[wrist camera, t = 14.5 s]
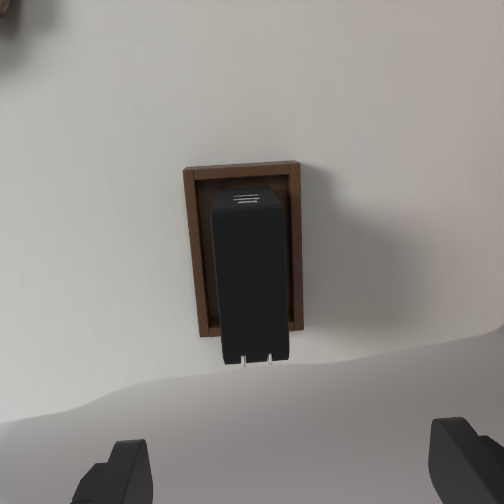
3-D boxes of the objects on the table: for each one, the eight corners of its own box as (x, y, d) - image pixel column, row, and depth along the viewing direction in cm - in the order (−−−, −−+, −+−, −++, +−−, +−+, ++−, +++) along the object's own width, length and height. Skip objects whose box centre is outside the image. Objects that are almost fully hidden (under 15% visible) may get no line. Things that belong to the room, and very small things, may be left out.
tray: (295, 160, 32) (300, 162, 30) (299, 317, 36) (303, 330, 34) (186, 167, 32) (182, 170, 30) (202, 324, 36) (199, 337, 33)
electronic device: (269, 184, 32) (284, 206, 22) (274, 301, 35) (290, 365, 25) (216, 187, 32) (208, 211, 22) (226, 304, 35) (223, 370, 25)
